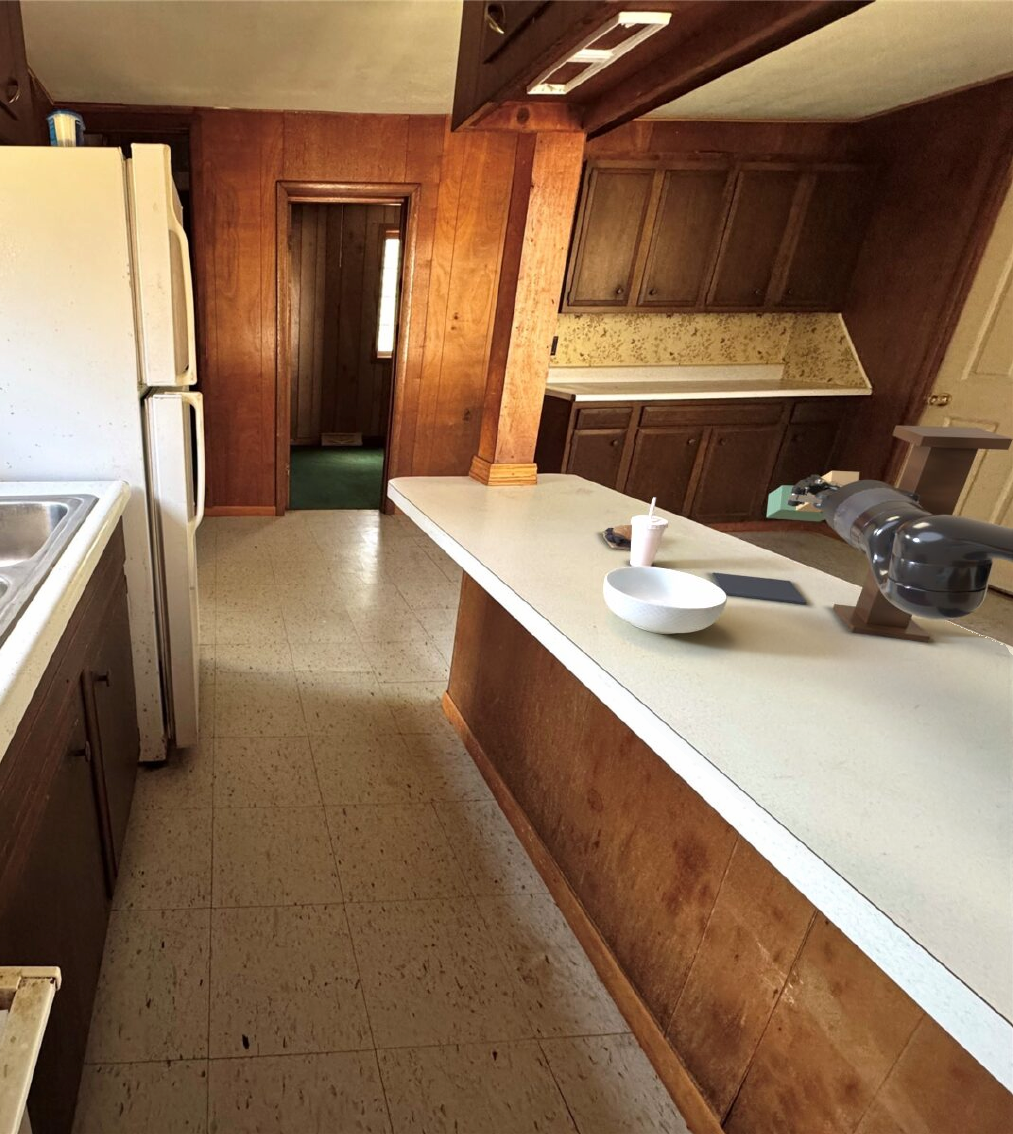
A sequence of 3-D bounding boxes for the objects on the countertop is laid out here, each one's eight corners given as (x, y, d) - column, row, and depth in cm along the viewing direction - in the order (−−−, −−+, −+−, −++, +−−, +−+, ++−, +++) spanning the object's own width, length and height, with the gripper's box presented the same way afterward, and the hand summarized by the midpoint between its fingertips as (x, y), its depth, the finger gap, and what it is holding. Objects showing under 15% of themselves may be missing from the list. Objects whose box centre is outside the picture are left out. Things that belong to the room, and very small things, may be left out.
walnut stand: (902, 617, 102) (977, 427, 91) (928, 642, 95) (1013, 438, 83) (832, 609, 106) (895, 425, 95) (851, 632, 99) (923, 435, 87)
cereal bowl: (627, 648, 96) (636, 607, 94) (581, 602, 112) (587, 566, 109) (741, 647, 95) (753, 606, 93) (678, 601, 111) (687, 564, 108)
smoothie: (659, 562, 128) (674, 496, 123) (658, 573, 123) (673, 504, 118) (623, 557, 131) (636, 492, 126) (621, 567, 126) (634, 500, 121)
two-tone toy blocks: (819, 521, 101) (822, 497, 101) (876, 494, 84) (879, 465, 85) (766, 517, 104) (768, 494, 104) (811, 490, 87) (814, 462, 88)
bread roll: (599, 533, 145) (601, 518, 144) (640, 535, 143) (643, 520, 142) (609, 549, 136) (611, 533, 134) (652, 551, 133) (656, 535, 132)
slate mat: (789, 583, 116) (790, 580, 116) (805, 604, 108) (806, 602, 108) (712, 574, 121) (712, 572, 121) (722, 594, 113) (722, 592, 113)
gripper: (794, 540, 81) (762, 502, 95) (940, 552, 75) (882, 510, 90) (811, 484, 78) (775, 454, 93) (964, 492, 73) (900, 459, 87)
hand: (828, 482), depth 91 cm, fingers closed on two-tone toy blocks, 3 cm apart
